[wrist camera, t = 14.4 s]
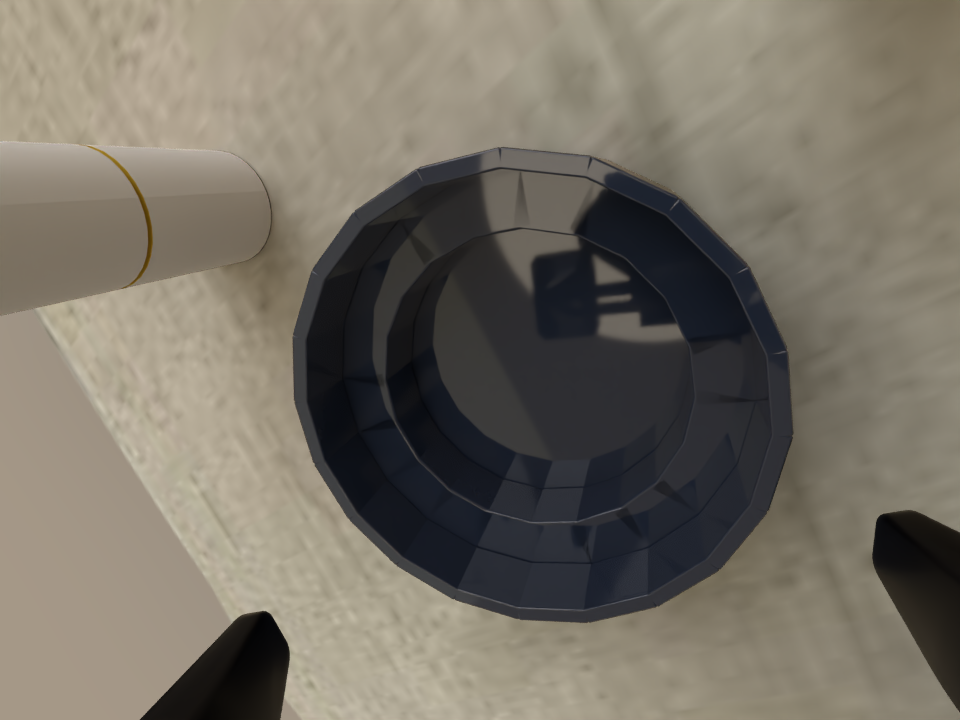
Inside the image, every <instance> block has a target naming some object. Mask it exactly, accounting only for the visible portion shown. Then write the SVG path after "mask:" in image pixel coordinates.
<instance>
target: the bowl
mask: <svg viewBox="0 0 960 720" xmlns="http://www.w3.org/2000/svg"><path fill="white" fill-rule="evenodd" d="M293 335H294V336H293V374H294V401H295V406H296V409H297V412H298V415H299V418H300V422H301V425H302V428H303V431H304V434H305V438H306V441H307V444H308V447H309V450H310V453H311V457H312V460H313V463H315V467H316V468H317V470H318V471H319V473H320V475H321V476H322V478H323V479H324V481H325V483H326V484H327V486H328V487H329V489H330V491H331V492H332V494H333V495H334V497H335V498H336V500H337V502H338V503H339V505H340V506H341V508H342V510H343V511H344V513H345V514H346V516H347V518H348V519H349V520H350V521H351V522H352V523H353V524H354V525H355V526H356V527H357V528H358V529H359V530H360V531H361V532H362V533H363V534H364V535H365V536H366V537H367V538H368V539H369V540H370V541H371V542H372V543H374V544H375V545H376V546H377V547H378V548H379V549H380V550H381V551H382V552H383V553H384V554H385V555H386V556H387V557H388V558H389V559H390V560H391V561H392V562H393V563H394V564H396V565H397V566H398V567H399V568H401V569H403V570H404V571H406V572H408V573H409V574H411V575H413V576H415V577H416V578H418V579H420V580H421V581H423V582H425V583H426V584H428V585H430V586H431V587H433V588H435V589H436V590H438V591H440V592H442V593H443V594H445V595H447V596H448V597H450V598H452V599H455V600H457V601H460V602H463V603H466V604H470V605H473V606H476V607H479V608H483V609H486V610H489V611H492V612H496V613H499V614H502V615H505V616H509V617H512V618H515V619H520V620H534V621H555V622H576V623H588V622H590V623H591V622H595V621H599V620H604V619H608V618H612V617H617V616H621V615H625V614H630V613H634V612H638V611H643V610H647V609H651V608H655V607H657V606H660V605H662V604H663V603H665V602H667V601H669V600H670V599H672V598H674V597H675V596H677V595H679V594H680V593H682V592H684V591H685V590H687V589H689V588H691V587H692V586H694V585H696V584H697V583H699V582H701V581H702V580H704V579H706V578H707V577H709V576H711V575H713V574H714V573H716V572H718V571H719V569H721V568H722V567H723V566H724V565H725V563H726V562H727V561H728V560H729V559H730V557H731V556H732V555H733V554H734V553H735V551H736V550H737V549H738V548H739V546H740V545H741V544H742V543H743V542H744V540H745V539H746V538H747V537H748V536H749V534H750V533H751V532H752V531H753V530H754V528H755V527H756V526H757V525H758V524H759V522H760V521H761V520H762V519H763V518H764V516H765V515H766V514H767V511H768V510H769V508H770V505H771V502H772V499H773V496H774V493H775V490H776V487H777V484H778V481H779V478H780V475H781V472H782V469H783V466H784V463H785V460H786V457H787V454H788V451H789V448H790V445H791V442H792V439H793V436H792V435H793V420H792V404H791V388H790V372H789V356H788V351H787V346H786V344H785V342H784V340H783V337H782V335H781V333H780V331H779V329H778V327H777V325H776V322H775V320H774V318H773V316H772V314H771V312H770V310H769V307H768V305H767V303H766V301H765V299H764V297H763V295H762V292H761V290H760V288H759V286H758V284H757V282H756V279H755V277H754V275H753V273H752V271H751V269H750V267H749V266H748V265H747V263H746V262H745V261H744V260H743V259H742V258H741V257H740V256H739V255H738V254H737V253H736V252H735V251H734V250H733V249H732V248H731V247H730V246H729V245H728V244H727V243H726V242H725V241H724V240H723V239H722V238H721V237H720V236H719V235H718V234H717V233H716V232H715V231H714V230H713V229H712V228H711V227H710V226H709V225H708V224H707V223H706V222H705V221H704V220H703V219H702V218H701V217H700V216H699V215H698V214H697V213H696V212H695V211H694V210H693V209H692V208H691V207H690V206H689V205H688V204H687V203H686V202H685V201H684V200H683V199H682V198H681V197H680V196H679V195H678V194H677V193H676V192H673V191H672V190H671V189H669V188H667V187H665V186H663V185H661V184H658V183H656V182H654V181H652V180H650V179H648V178H646V177H643V176H641V175H639V174H637V173H635V172H633V171H631V170H628V169H626V168H624V167H622V166H620V165H618V164H616V163H614V162H611V161H609V160H606V159H602V158H598V157H593V156H588V155H578V154H568V153H558V152H548V151H538V150H528V149H518V148H508V147H501V148H499V147H498V148H494V149H490V150H486V151H482V152H478V153H474V154H470V155H466V156H462V157H458V158H454V159H450V160H446V161H442V162H438V163H434V164H430V165H426V166H422V167H420V168H419V169H415V170H414V171H412V172H411V173H409V174H408V175H406V176H405V177H403V178H402V179H400V180H399V181H397V182H396V183H395V184H393V185H392V186H390V187H389V188H387V189H386V190H384V191H383V192H381V193H380V194H378V195H377V196H376V197H374V198H373V199H371V200H370V201H368V202H367V203H365V204H364V205H362V206H361V207H359V208H358V209H356V210H355V212H354V213H352V215H351V216H350V217H349V219H348V220H347V222H346V223H345V224H344V226H343V227H342V229H341V230H340V231H339V233H338V234H337V236H336V237H335V238H334V240H333V241H332V243H331V244H330V245H329V247H328V248H327V250H326V251H325V252H324V254H323V255H322V257H321V258H320V259H319V261H318V262H317V264H316V265H315V266H314V268H313V270H312V272H311V275H310V278H309V281H308V285H307V288H306V292H305V295H304V298H303V302H302V305H301V309H300V312H299V315H298V319H297V322H296V326H295V329H294V333H293Z"/></svg>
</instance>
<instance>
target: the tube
mask: <svg viewBox="0 0 960 720" xmlns="http://www.w3.org/2000/svg"><path fill="white" fill-rule="evenodd" d="M270 226H271V209H270V203H269V199H268V196H267V192H266V190H265V188H264V186H263V184H262V182H261V180H260V178H259V177H258V175H257V174H256V173H255V171H254V170H253V169H252V168H251V167H250V166H249V165H248V164H247V163H246V162H244V161H243V160H242V159H240V158H239V157H237V156H235V155H233V154H231V153H228V152H223V151H215V150H193V149H170V148H147V147H125V146H102V145H76V144H57V143H34V142H11V141H0V316H2V315H6V314H11V313H15V312H20V311H24V310H29V309H33V308H38V307H42V306H47V305H51V304H56V303H60V302H65V301H69V300H74V299H78V298H83V297H87V296H92V295H96V294H101V293H105V292H110V291H114V290H119V289H123V288H127V287H132V286H136V285H141V284H145V283H150V282H154V281H159V280H163V279H168V278H172V277H177V276H181V275H185V274H190V273H194V272H199V271H203V270H208V269H212V268H217V267H221V266H226V265H230V264H235V263H239V262H243V261H247V260H249V259H251V258H253V257H254V256H255V255H256V254H257V253H259V252H260V250H261V249H262V247H263V246H264V245H265V243H266V240H267V238H268V235H269V231H270Z"/></svg>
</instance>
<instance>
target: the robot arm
mask: <svg viewBox="0 0 960 720" xmlns="http://www.w3.org/2000/svg"><path fill="white" fill-rule="evenodd" d="M872 559H873V564H874V568H875V570H876V573H877V574H878V576H879V578H880V580H881V582H882V583H883V585H884V587H885V589H886V590H887V592H888V594H889V596H890V597H891V599H892V601H893V603H894V604H895V606H896V608H897V610H898V611H899V613H900V615H901V617H902V618H903V620H904V622H905V624H906V625H907V627H908V629H909V631H910V632H911V634H912V636H913V638H914V639H915V641H916V643H917V645H918V646H919V648H920V650H921V652H922V653H923V655H924V657H925V659H926V660H927V662H928V664H929V666H930V667H931V669H932V671H933V672H934V674H935V676H936V677H937V679H938V681H939V682H940V684H941V686H942V687H943V689H944V690H945V692H946V693H947V695H948V696H949V697H950V699H951V700H952V702H953V703H954V705H955V706H956V708H957V709H958V711H959V712H960V532H958V531H955V530H953V529H951V528H949V527H947V526H945V525H943V524H941V523H939V522H937V521H935V520H933V519H931V518H929V517H927V516H925V515H923V514H921V513H918V512H916V511H912V510H904V511H898V512H891V513H885V514H882V515H880V516H879V517H878V519H877V522H876V528H875V537H874V545H873V553H872ZM289 660H290V652H289V646H288V643H287V641H286V639H285V638H284V636H283V634H282V633H281V631H280V629H279V627H278V626H277V624H276V622H275V620H274V619H273V617H272V615H271V614H270V613H268V612H266V611H260V612H254V613H248V614H244V615H241V616H240V617H238V618H237V619H236V620H235V621H234V622H233V623H232V624H231V625H230V626H229V627H228V628H227V629H226V630H225V631H224V633H223V634H222V635H221V636H220V637H219V638H218V639H217V640H216V641H215V642H214V643H213V644H212V645H211V646H210V647H209V648H208V649H207V650H206V651H205V652H204V653H203V654H202V655H201V656H200V657H199V659H198V660H197V661H196V662H195V663H194V664H193V665H192V666H191V667H190V668H189V669H188V670H187V671H186V672H185V673H184V674H183V675H182V676H181V677H180V678H179V679H178V681H176V683H175V684H174V685H173V686H172V687H171V688H170V689H169V690H168V691H167V692H166V693H165V694H164V695H163V696H162V697H161V698H160V699H159V700H158V701H157V703H155V705H153V706H152V707H151V709H150V710H149V711H148V712H147V713H146V714H145V715H144V716H143V717H142V718H141V719H140V720H280V718H281V712H282V706H283V699H284V693H285V686H286V680H287V674H288V667H289Z"/></svg>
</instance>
